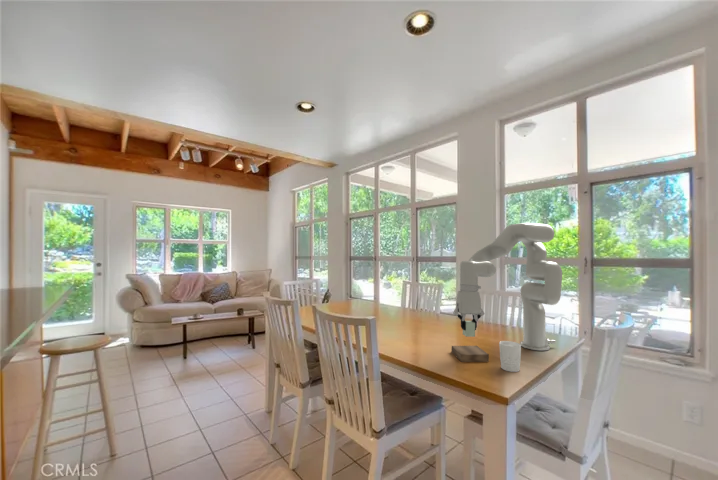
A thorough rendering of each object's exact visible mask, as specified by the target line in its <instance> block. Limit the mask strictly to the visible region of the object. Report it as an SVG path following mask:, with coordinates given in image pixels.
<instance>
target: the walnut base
mask: <svg viewBox="0 0 718 480" xmlns="http://www.w3.org/2000/svg"><path fill="white" fill-rule="evenodd" d="M451 353H452V354H453V356H455V358H457V359H458V360H459V361H460V362H461V363H469V362H470V363H471V362H472V363H473V362H474V363H475V362H476V363H478V362H479V363H481V362H482V363H483V362H484V363H485V362H490V355H489V353H487V352H486V351H485V350H483V349H482V348H481V347H480V346H478V345H451Z"/></svg>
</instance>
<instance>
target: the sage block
mask: <svg viewBox="0 0 718 480" xmlns="http://www.w3.org/2000/svg"><path fill="white" fill-rule="evenodd" d="M465 321H466V330H463V329H462V335H463V336H465V338H466V337H467V338H469V337H470V338H471V337H472V338H473V337H476V330H475V323H474V322H472V320H465Z"/></svg>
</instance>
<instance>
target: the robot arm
mask: <svg viewBox="0 0 718 480" xmlns="http://www.w3.org/2000/svg"><path fill="white" fill-rule="evenodd" d="M554 237H555V231H554V228H553V227H552V226H551V225H550V224H545V223H535V222H534V223H532V222H521V223H513V224H509V225H508V226H506V227H505V228H504V229H503V230H502V231H501V232H500V234H498V236H497V237H496V238H495V239H494V241H493V242H491V243H489V244H487V245H486V246H484V247H482V248H481V249H479V250H478V251H476V252H475V253H474V254H473V255H472V256H471V257H470V258H469V259H468V260H463V261H461V262H460V265H459V290H458V291H457V296H456V301H455V303H456V304H455V309H454V311H453V313H452V314H453V315H455V316H456V317H457V318H458V319H459V320H460V328H461V330H462V331H463V330H466V321H467V320H465V319H466V315H471V317H472V319H471V321H472V322H474V323H475V331H477V328H478V322H479V321H478V320H479V319H480V318H482V316H484V315H485V312H484V310H483V308H482V300H481V295H480V291H479V290H480V289H482V287H481V286H480V285H479V278H491V277H493V276H494V275H495V274H496V271H497V266H496V265H495V264H494V263H493V262H492V261H494V260H496V259H500V258H502V257H505V256H508V254H509V253H510V252H511V251H512V250H513V249H514V248H515V246H516V245H517V244H518V243H519V242H521V243H523V245H524V247H525V249H526V265H525V275H526V277H527V278H528V279H530V280H534V281H541V282H544V283H541V282H540V283H539V282H533V281H532V282H531V281H530V282H526V283H524V284H522V285H521V288H520V296H521V301H522V311H523V312H522V314H523V316H522V318H523V319H522V321H523V323H522V324H523V325H522V326H523V330H522V331H523V340H522V341H520V343H519V344H520V345H521V348H525V349H528V350H532V351H549V350H550V349H551V348H550V345H551V344H552V345H554V344H556V343H557V341H556V339H549V338H546V309H545V307H544V306H543V304H544V305H548V306H554V305H557V304H558V303H559V301H560V300H561V296H562V283H563V282H562V281H563V270H562V267H561V266H560V264H558V263H557V262H555V261H547V257H548V255H547V254H548V253H547V249H546V247H545V245H544V244H543V243H548V242H551V241H552V240H553V239H554Z"/></svg>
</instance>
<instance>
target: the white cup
mask: <svg viewBox="0 0 718 480" xmlns="http://www.w3.org/2000/svg"><path fill="white" fill-rule="evenodd" d="M498 345H499V359H500V367H501V369H502V370H504V371H506V372H510V373H511V372H512V373H516V372H519V371H520V369H521V357H522V356H521V355H522V346H521V345H520V343H518V342H516V341H511V340H500V341H499V344H498Z"/></svg>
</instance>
